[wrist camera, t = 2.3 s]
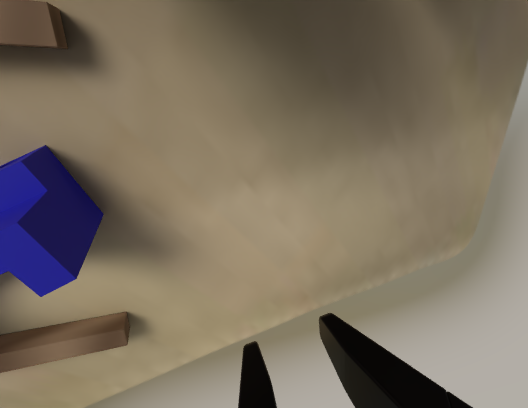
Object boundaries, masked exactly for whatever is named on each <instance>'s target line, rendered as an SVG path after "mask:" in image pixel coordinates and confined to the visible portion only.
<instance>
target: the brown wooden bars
mask: <svg viewBox="0 0 528 408" xmlns="http://www.w3.org/2000/svg"><path fill="white" fill-rule="evenodd" d="M0 45H11V46H28V47H45V48H62V49H68V47H67V42H66V38H65V33H64V29H63V24H62V20H61V15H60V11H59V9H58V8H56V7H54V6H53V5H51V4H49V3H47V2H40V1H30V0H0ZM129 330H130V326H129V321H128V317H127V312H123V313H117V314H112V315H107V316H101V317H96V318H91V319H85V320H80V321H74V322H69V323H64V324H58V325H53V326H48V327H42V328H37V329H31V330H26V331H21V332H15V333H10V334H5V335H0V373H2V372H7V371H11V370H16V369H20V368H25V367H29V366H34V365H39V364H43V363H48V362H52V361H57V360H62V359H66V358H71V357H75V356H80V355H85V354H89V353H94V352H98V351H103V350H107V349H112V348H117V347H121V346H126V345H128V337H129Z"/></svg>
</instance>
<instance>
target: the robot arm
mask: <svg viewBox="0 0 528 408" xmlns="http://www.w3.org/2000/svg"><path fill="white" fill-rule="evenodd" d="M319 328H320V336H321V339H322V342H323V344H324V346H325V348H326V350H327V353H328V355H329V357H330V359H331V361H332V363H333V365H334V368H335V370H336V372H337V374H338V376H339V379H340V381H341V383H342V385H343V387H344V389H345V391H346V393H347V394H348V396H349V398H350V399H351V401H352V403H353V405H354V406H355V408H473V407H471V406H469V405H468V404H466V403H465V402H463V401H462V400H460V399H459V398H457V397H456V396H454V395H453V394H452V393H450V392H446V390H445V389H444V388H442V387H441V386H439V385H438V384H436V383H435V382H433V381H432V380H431V379H429V378H427V377H426V376H424V375H423V374H422V373H420V372H419V371H417V370H416V369H414V368H413V367H411V366H410V365H408V364H407V363H405V362H404V361H402V360H401V359H399V358H398V357H396V356H395V355H393V354H392V353H390V352H389V351H387V350H386V349H384V348H383V347H382V346H380V345H378V344H377V343H376V342H374V341H373V340H371V339H370V338H368V337H367V336H365V335H364V334H362V333H361V332H359V331H358V330H356V329H355V328H353V327H352V326H350V325H349V324H347V323H346V322H344V321H343V320H341V319H340V318H338V317H337V316H335V315H334V314H332V313H328V314H325V315H323V316H320V318H319ZM238 408H277V406H276V401H275V397H274V392H273V387H272V383H271V380H270V376H269V374H268V371H267V368H266V365H265V362H264V360H263V357H262V354H261V351H260V348H259V345H258V343H257V342H256V341H254V342H251V343H249V344H246V345H245V346H244V348H243V359H242V370H241V381H240V393H239V404H238Z"/></svg>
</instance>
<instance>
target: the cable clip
mask: <svg viewBox="0 0 528 408" xmlns="http://www.w3.org/2000/svg"><path fill="white" fill-rule="evenodd" d="M103 215H104V214H103V213H102V212H101V211H100V209H99V208H98V207H97V206H96V205H95V203H94V202H93V201H92V200H91V199H90V197H89V196H88V195H87V194H86V193H85V191H84V190H83V189H82V188H81V187H80V185H79V184H78V183H77V182H76V181H75V179H74V178H73V177H72V176H71V175H70V174H69V172H68V171H67V170H66V169H65V168H64V166H63V165H62V164H61V163H60V162H59V160H58V159H57V158H56V157H55V156H54V154H53V153H52V152H51V151H50V150H49V148H48V147H47V146H46V145H45V146H43V147H41V148H38V149H36V150H34V151H32V152H30V153H28V154H25V155H23V156H21V157H19V158H17V159H15V160H12V161H10V162H8V163H6V164H4V165H2V166H0V274H2V273H5V272H7V271H10V272H11V273H12V274H13V275H14V276H16V277H17V278H18V279H19V280H21V281H22V282H23V283H24V284H25V285H27V286H28V287H29V288H30V289H31V290H33V291H34V292H35V293H36V294H38V295H39V296H40V297H42V296H44V295H46V294H48V293H50V292H52V291H54V290H56V289H58V288H59V287H61V286H63V285H65V284H67V283H69V282H71V281H73V280H75V279H76V278H77V276H78V274H79V271H80V269H81V267H82V264H83V262H84V260H85V257H86V255H87V253H88V250H89V248H90V246H91V243H92V241H93V238H94V236H95V234H96V231H97V229H98V227H99V224H100V222H101V220H102V217H103Z"/></svg>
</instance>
